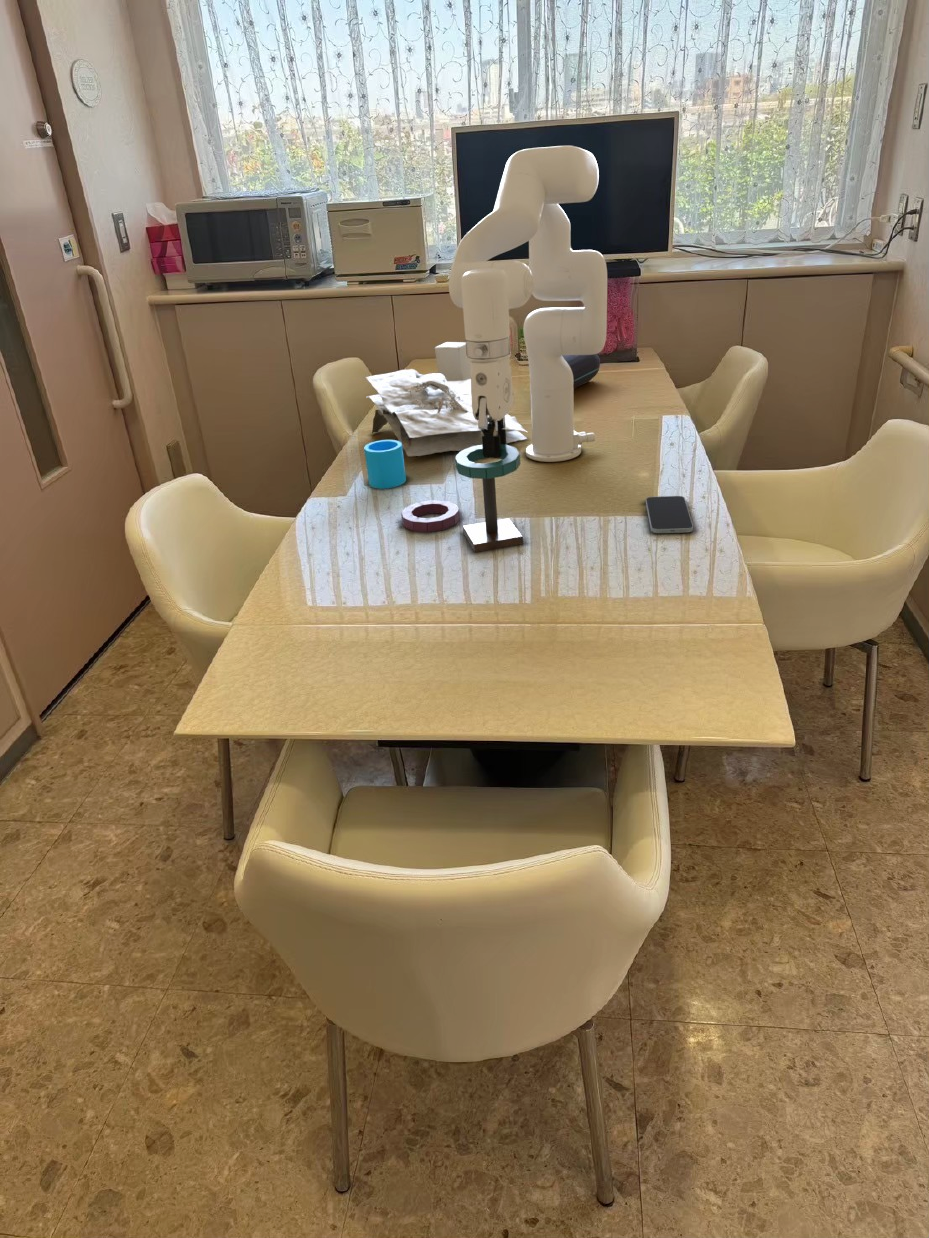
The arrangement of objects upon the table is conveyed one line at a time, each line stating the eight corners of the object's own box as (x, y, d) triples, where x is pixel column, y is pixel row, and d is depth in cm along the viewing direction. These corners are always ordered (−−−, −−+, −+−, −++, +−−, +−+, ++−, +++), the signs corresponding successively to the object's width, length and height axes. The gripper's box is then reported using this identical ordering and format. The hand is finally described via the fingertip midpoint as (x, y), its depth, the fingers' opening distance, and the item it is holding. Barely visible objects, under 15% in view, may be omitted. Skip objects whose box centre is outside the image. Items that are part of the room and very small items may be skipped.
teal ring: (511, 450, 150) (510, 440, 149) (526, 472, 141) (525, 461, 140) (451, 460, 149) (450, 449, 148) (463, 482, 140) (462, 471, 138)
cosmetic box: (476, 398, 236) (472, 342, 228) (463, 404, 231) (459, 347, 224) (451, 396, 240) (447, 340, 232) (439, 402, 235) (433, 346, 228)
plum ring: (453, 506, 166) (452, 496, 165) (464, 526, 157) (463, 517, 156) (399, 514, 165) (398, 504, 164) (406, 535, 156) (405, 525, 155)
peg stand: (509, 525, 156) (505, 459, 149) (523, 544, 148) (519, 475, 142) (463, 533, 154) (457, 466, 148) (474, 552, 147) (469, 483, 140)
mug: (400, 488, 178) (395, 452, 173) (364, 488, 179) (358, 452, 175) (415, 469, 188) (411, 434, 184) (381, 469, 189) (376, 434, 185)
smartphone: (651, 529, 147) (644, 497, 160) (651, 534, 148) (644, 501, 160) (694, 528, 146) (684, 495, 159) (693, 533, 146) (684, 500, 159)
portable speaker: (573, 377, 248) (573, 343, 243) (603, 380, 242) (603, 345, 237) (529, 399, 230) (527, 363, 225) (560, 403, 225) (559, 365, 220)
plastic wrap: (534, 410, 195) (408, 421, 183) (525, 472, 204) (405, 485, 193) (476, 357, 220) (362, 364, 208) (470, 414, 229) (361, 423, 218)
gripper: (495, 360, 131) (502, 470, 140) (522, 337, 144) (527, 440, 153) (451, 360, 133) (460, 469, 143) (481, 338, 146) (488, 439, 156)
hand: (495, 453), depth 148 cm, fingers closed
